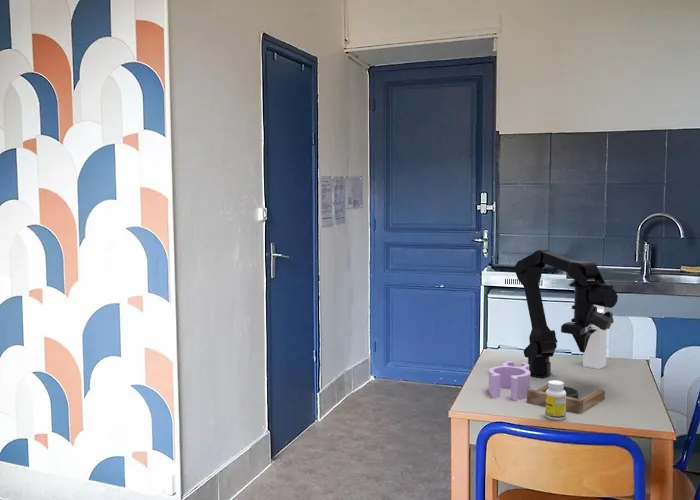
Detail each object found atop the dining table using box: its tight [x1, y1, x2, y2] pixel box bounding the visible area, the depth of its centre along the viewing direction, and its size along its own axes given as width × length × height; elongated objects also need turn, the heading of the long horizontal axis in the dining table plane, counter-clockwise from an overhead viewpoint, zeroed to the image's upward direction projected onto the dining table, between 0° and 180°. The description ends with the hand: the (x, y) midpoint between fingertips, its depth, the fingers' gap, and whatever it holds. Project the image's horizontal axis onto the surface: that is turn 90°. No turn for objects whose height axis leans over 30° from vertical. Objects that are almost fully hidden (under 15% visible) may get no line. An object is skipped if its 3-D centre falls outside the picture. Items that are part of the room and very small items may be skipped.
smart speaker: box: [563, 386, 580, 399], centre depth 197 cm, size 9×9×4 cm
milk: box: [582, 305, 608, 370], centre depth 237 cm, size 6×6×22 cm
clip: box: [488, 360, 531, 402], centre depth 210 cm, size 20×12×7 cm, turn 154°
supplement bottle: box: [544, 379, 567, 421], centre depth 184 cm, size 5×5×10 cm
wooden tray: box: [526, 383, 606, 415], centre depth 199 cm, size 16×18×4 cm
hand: (582, 352), depth 210 cm, fingers closed
